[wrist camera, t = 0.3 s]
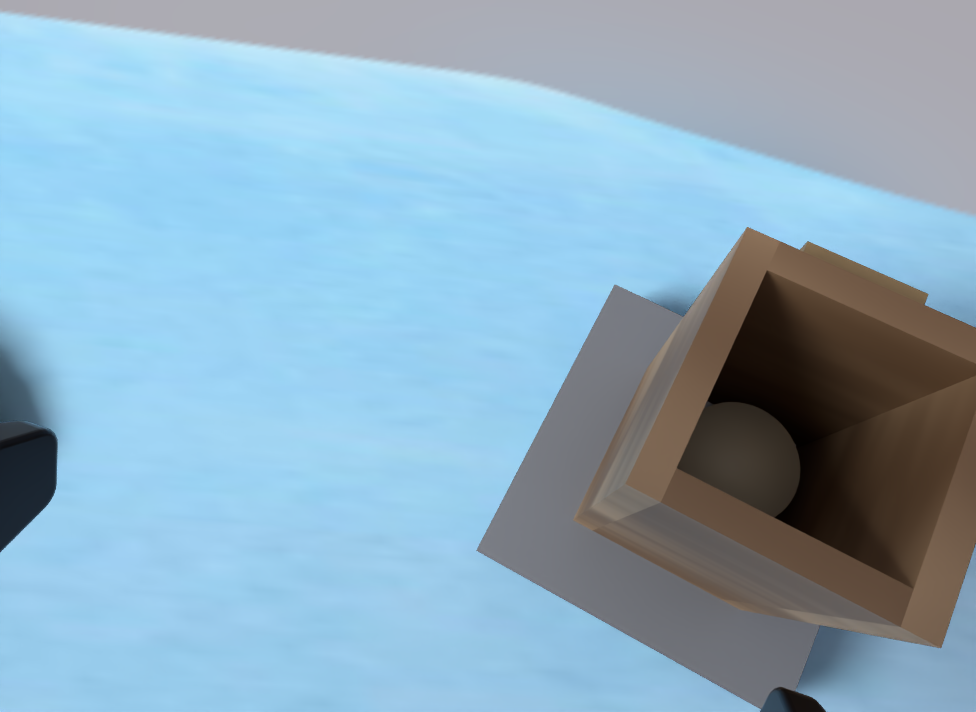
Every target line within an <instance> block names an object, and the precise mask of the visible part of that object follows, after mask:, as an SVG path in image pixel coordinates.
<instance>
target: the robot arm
mask: <svg viewBox="0 0 976 712" xmlns="http://www.w3.org/2000/svg"><path fill="white" fill-rule="evenodd" d="M57 448H58V442H57V438H56V435H55V433H54V432H53V431H51V430H50V429H48V428H45V427H42V426H39V425H36V424H34V423H31V422H27V421H21V420H19V421H10V422H2V423H0V552H1V551H2V550H3V549H4V548H5V547H6V546H7V545H8V544H9V543H10V542H11V541H12V540H13V539H14V538H15V537H16V536H17V535H18V534H19V533H20V532H21V531H22V530H23V529H24V528H25V527H26V526H27V525H28V524H29V523H30V522H31V521H32V520H33V519H34V518H35V517H36V516H37V515H38V514H39V513H40V512H41V511H42V510H43V509H44V508H45V507H46V506H47V505H48V503H49V502H50V501H51V499H52V497H53V495H54V493H55V490H56V484H57ZM760 712H826V711H825V710H824V709H823V707H822V706H821V705H820V704H819V703H818V702H817V701H816V700H815V699H813V698H812V697H809V696H807V695H804V694H801V693H798V692H795V691H792V690H790V689H787V688H784V687H777V688H774V689H773V690H772V691H771V692H770V694H769V695H768V697H767V699H766V701H765V703H764V705H763V707H762V709H761V711H760Z"/></svg>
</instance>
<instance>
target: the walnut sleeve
mask: <svg viewBox="0 0 976 712" xmlns="http://www.w3.org/2000/svg"><path fill="white" fill-rule="evenodd" d="M927 297H928V294H927V293H925V292H922V291H920V290H918V289H916V288H913V287H911V286H909V285H906V284H904V283H902V282H900V281H897V280H895V279H893V278H890V277H888V276H886V275H884V274H881V273H879V272H877V271H875V270H872V269H870V268H868V267H865V266H863V265H861V264H859V263H856V262H854V261H852V260H849V259H847V258H845V257H843V256H840V255H838V254H836V253H833V252H831V251H829V250H827V249H824V248H822V247H820V246H818V245H815V244H813V243H811V242H807V243H806V244H805V245H804V246H803V247H802V248H801V249H800V250H798V249H796V248H794V247H792V246H789V245H787V244H785V243H783V242H780V241H778V240H776V239H774V238H771V237H769V236H767V235H764V234H762V233H760V232H758V231H755V230H753V229H751V228H749V227H747V228H746V230H745V231H744V232H743V234H742V235H741V237H740V238H739V239H738V241H737V242H736V244H735V245H734V246H733V248H732V249H731V251H730V252H729V254H728V255H727V256H726V258H725V259H724V261H723V262H722V263H721V265H720V266H719V268H718V269H717V270H716V272H715V273H714V275H713V276H712V278H711V279H710V280H709V282H708V283H707V285H706V286H705V287H704V289H703V290H702V292H701V293H700V294H699V296H698V297H697V299H696V300H695V302H694V303H693V304H692V306H691V307H690V309H689V310H688V311H687V313H686V314H685V316H684V317H683V318H682V320H681V321H680V323H679V324H678V325H677V327H676V328H675V330H674V331H673V333H672V334H671V335H670V337H669V338H668V340H667V341H666V342H665V344H664V345H663V347H662V348H661V349H660V351H659V352H658V354H657V355H656V357H655V358H654V359H653V361H652V362H651V364H650V365H649V366H648V368H647V370H646V372H645V374H644V376H643V378H642V380H641V382H640V384H639V386H638V388H637V390H636V392H635V394H634V396H633V398H632V400H631V402H630V404H629V406H628V409H627V411H626V413H625V415H624V417H623V419H622V421H621V423H620V425H619V427H618V429H617V431H616V433H615V435H614V437H613V439H612V441H611V443H610V445H609V447H608V449H607V452H606V454H605V456H604V458H603V460H602V462H601V464H600V466H599V468H598V470H597V472H596V474H595V476H594V478H593V480H592V482H591V484H590V486H589V488H588V490H587V492H586V494H585V497H584V499H583V501H582V503H581V505H580V507H579V509H578V511H577V513H576V515H575V517H574V519H573V520H574V521H576V522H577V523H579V524H581V525H583V526H585V527H587V528H589V529H590V530H592V531H594V532H596V533H598V534H600V535H602V536H603V537H605V538H607V539H609V540H611V541H613V542H615V543H617V544H618V545H620V546H622V547H624V548H626V549H628V550H630V551H631V552H633V553H635V554H637V555H639V556H641V557H643V558H645V559H646V560H648V561H650V562H652V563H654V564H656V565H658V566H659V567H661V568H663V569H665V570H667V571H669V572H671V573H672V574H674V575H676V576H678V577H680V578H682V579H684V580H686V581H687V582H689V583H691V584H693V585H695V586H697V587H699V588H700V589H702V590H704V591H706V592H708V593H710V594H712V595H713V596H715V597H717V598H719V599H721V600H723V601H725V602H727V603H728V604H730V605H732V606H734V607H736V608H738V609H740V610H743V611H749V612H754V613H759V614H764V615H770V616H775V617H780V618H785V619H791V620H796V621H801V622H806V623H811V624H817V625H822V626H827V627H832V628H838V629H843V630H848V631H853V632H859V633H864V634H869V635H874V636H880V637H885V638H890V639H895V640H901V641H906V642H911V643H916V644H922V645H927V646H932V647H937V648H941V647H942V644H943V641H944V638H945V635H946V632H947V629H948V626H949V623H950V620H951V617H952V614H953V611H954V608H955V605H956V602H957V599H958V596H959V592H960V589H961V586H962V583H963V580H964V577H965V574H966V571H967V568H968V565H969V562H970V559H971V556H972V553H973V550H974V547H975V544H976V328H975V327H973V326H971V325H968V324H966V323H964V322H962V321H959V320H957V319H955V318H952V317H950V316H948V315H946V314H943V313H941V312H939V311H937V310H934V309H932V308H930V307H928V306H925V305H924V304H925V302H926V299H927ZM707 401H708V402H710V403H712V404H719V403H725V402H739V403H745V404H749V405H752V406H755V407H757V408H760V409H762V410H764V411H765V412H767V413H769V414H770V415H771V416H773V417H774V418H775V419H777V420H778V421H779V422H780V423H781V424H782V425H783V427H784V428H785V429H786V430H787V432H788V433H789V435H790V436H791V438H792V440H793V442H794V444H796V449H797V452H798V456H799V460H800V479H799V485H798V488H797V491H796V493H795V495H794V497H793V499H792V500H791V502H790V503H789V505H788V506H787V507H786V508H785V509H784V510H783V511H782V512H781V513H780V514H778V515H777V516H776V517H772V516H770V515H768V514H766V513H764V512H762V511H760V510H758V509H756V508H754V507H752V506H750V505H748V504H746V503H744V502H742V501H740V500H738V499H736V498H734V497H732V496H730V495H728V494H727V493H725V492H723V491H721V490H719V489H717V488H715V487H713V486H711V485H709V484H707V483H705V482H703V481H701V480H699V479H697V478H695V477H693V476H691V475H689V474H687V473H685V472H683V471H681V470H679V469H677V466H678V463H679V461H680V459H681V457H682V455H683V453H684V450H685V448H686V446H687V444H688V442H689V439H690V437H691V435H692V433H693V431H694V429H695V426H696V424H697V422H698V420H699V418H700V415H701V413H702V411H703V409H704V407H705V404H706V402H707Z"/></svg>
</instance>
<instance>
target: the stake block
mask: <svg viewBox="0 0 976 712" xmlns="http://www.w3.org/2000/svg"><path fill="white" fill-rule="evenodd" d="M682 318H683V316H681V315H679V314H677V313H675V312H672V311H670V310H668V309H666V308H664V307H662V306H660V305H658V304H655V303H653V302H651V301H649V300H647V299H645V298H643V297H641V296H638V295H636V294H634V293H632V292H630V291H628V290H626V289H624V288H621V287H619V286H617V285H614V287H613V289H612V291H611V293H610V294H609V296H608V298H607V300H606V302H605V304H604V306H603V308H602V310H601V312H600V314H599V316H598V318H597V319H596V321H595V323H594V325H593V327H592V329H591V331H590V333H589V335H588V337H587V339H586V341H585V343H584V344H583V346H582V348H581V350H580V352H579V354H578V356H577V358H576V360H575V362H574V364H573V366H572V368H571V369H570V371H569V373H568V375H567V377H566V379H565V381H564V383H563V385H562V387H561V389H560V391H559V393H558V394H557V396H556V398H555V400H554V402H553V404H552V406H551V408H550V410H549V412H548V414H547V416H546V418H545V419H544V421H543V423H542V425H541V427H540V429H539V431H538V433H537V435H536V437H535V439H534V441H533V443H532V444H531V446H530V448H529V450H528V452H527V454H526V456H525V458H524V460H523V462H522V464H521V466H520V468H519V469H518V471H517V473H516V475H515V477H514V479H513V481H512V483H511V485H510V487H509V489H508V491H507V493H506V494H505V496H504V498H503V500H502V502H501V504H500V506H499V508H498V510H497V512H496V514H495V516H494V518H493V519H492V521H491V523H490V525H489V527H488V529H487V531H486V533H485V535H484V537H483V539H482V541H481V543H480V544H479V546H478V548H477V550H476V551H478V552H480V553H482V554H484V555H485V556H487V557H489V558H491V559H493V560H494V561H496V562H498V563H500V564H501V565H503V566H505V567H507V568H509V569H510V570H512V571H514V572H516V573H518V574H519V575H521V576H523V577H525V578H527V579H528V580H530V581H532V582H534V583H536V584H537V585H539V586H541V587H543V588H544V589H546V590H548V591H550V592H552V593H553V594H555V595H557V596H559V597H561V598H562V599H564V600H566V601H568V602H570V603H571V604H573V605H575V606H577V607H579V608H580V609H582V610H584V611H586V612H588V613H589V614H591V615H593V616H595V617H596V618H598V619H600V620H602V621H604V622H605V623H607V624H609V625H611V626H613V627H614V628H616V629H618V630H620V631H622V632H623V633H625V634H627V635H629V636H631V637H632V638H634V639H636V640H638V641H640V642H641V643H643V644H645V645H647V646H648V647H650V648H652V649H654V650H656V651H657V652H659V653H661V654H663V655H665V656H666V657H668V658H670V659H672V660H674V661H675V662H677V663H679V664H681V665H683V666H684V667H686V668H688V669H690V670H691V671H693V672H695V673H697V674H699V675H700V676H702V677H704V678H706V679H708V680H709V681H711V682H713V683H715V684H717V685H718V686H720V687H722V688H724V689H726V690H727V691H729V692H731V693H733V694H735V695H736V696H738V697H740V698H742V699H743V700H745V701H747V702H749V703H751V704H752V705H754V706H756V707H758V708H760V709H762V707H763V705H764V703H765V701H766V699H767V697H768V695H769V694H770V692H771V691H772V690H773V689H774V688H777V687H784V688H787V689H790V690H792V691H795V690H796V688H797V685H798V683H799V680H800V677H801V675H802V672H803V669H804V667H805V664H806V661H807V659H808V656H809V653H810V651H811V648H812V645H813V643H814V640H815V637H816V635H817V632H818V629H819V627H820V625H817V624H811V623H806V622H801V621H796V620H791V619H785V618H780V617H775V616H770V615H764V614H759V613H754V612H749V611H743V610H740V609H738V608H736V607H734V606H732V605H730V604H728V603H727V602H725V601H723V600H721V599H719V598H717V597H715V596H713V595H712V594H710V593H708V592H706V591H704V590H702V589H700V588H699V587H697V586H695V585H693V584H691V583H689V582H687V581H686V580H684V579H682V578H680V577H678V576H676V575H674V574H672V573H671V572H669V571H667V570H665V569H663V568H661V567H659V566H658V565H656V564H654V563H652V562H650V561H648V560H646V559H645V558H643V557H641V556H639V555H637V554H635V553H633V552H631V551H630V550H628V549H626V548H624V547H622V546H620V545H618V544H617V543H615V542H613V541H611V540H609V539H607V538H605V537H603V536H602V535H600V534H598V533H596V532H594V531H592V530H590V529H589V528H587V527H585V526H583V525H581V524H579V523H577V522H576V521H574V520H573V519H574V517H575V515H576V513H577V511H578V509H579V507H580V505H581V503H582V501H583V499H584V497H585V494H586V492H587V490H588V488H589V486H590V484H591V482H592V480H593V478H594V476H595V474H596V472H597V470H598V468H599V466H600V464H601V462H602V460H603V458H604V456H605V454H606V452H607V449H608V447H609V445H610V443H611V441H612V439H613V437H614V435H615V433H616V431H617V429H618V427H619V425H620V423H621V421H622V419H623V417H624V415H625V413H626V411H627V409H628V406H629V404H630V402H631V400H632V398H633V396H634V394H635V392H636V390H637V388H638V386H639V384H640V382H641V380H642V378H643V376H644V374H645V372H646V370H647V368H648V366H649V365H650V364H651V362H652V361H653V359H654V358H655V357H656V355H657V354H658V352H659V351H660V349H661V348H662V347H663V345H664V344H665V342H666V341H667V340H668V338H669V337H670V335H671V334H672V333H673V331H674V330H675V328H676V327H677V325H678V324H679V323H680V321H681V320H682ZM677 469H679V470H681V471H683V472H685V473H687V474H689V475H691V476H693V477H695V478H697V479H699V480H701V481H703V482H705V483H707V484H709V485H711V486H713V487H715V488H717V489H719V490H721V491H723V492H725V493H727V494H728V495H730V496H732V497H734V498H736V499H738V500H740V501H742V502H744V503H746V504H748V505H750V506H752V507H754V508H756V509H758V510H760V511H762V512H764V513H766V514H768V515H770V516H772V517H776V516H777V515H778V514H780V513H781V512H782V511H783V510H784V509H785V508H786V507H787V506H788V505H789V503H790V502H791V500H792V499H793V497H794V495H795V493H796V491H797V488H798V485H799V479H800V460H799V456H798V452H797V449H796V444H794V442H793V440H792V438H791V436H790V435H789V433H788V432H787V430H786V429H785V428H784V427H783V425H782V424H781V423H780V422H779V421H778V420H777V419H775V418H774V417H773V416H771V415H770V414H769V413H767V412H765V411H764V410H762V409H760V408H757V407H755V406H752V405H749V404H745V403H739V402H725V403H719V404H712V403H710V402H708V401H707V402H706V404H705V407H704V409H703V411H702V413H701V415H700V418H699V420H698V422H697V424H696V426H695V429H694V431H693V433H692V435H691V437H690V439H689V442H688V444H687V446H686V448H685V450H684V453H683V455H682V457H681V459H680V461H679V463H678V466H677Z"/></svg>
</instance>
